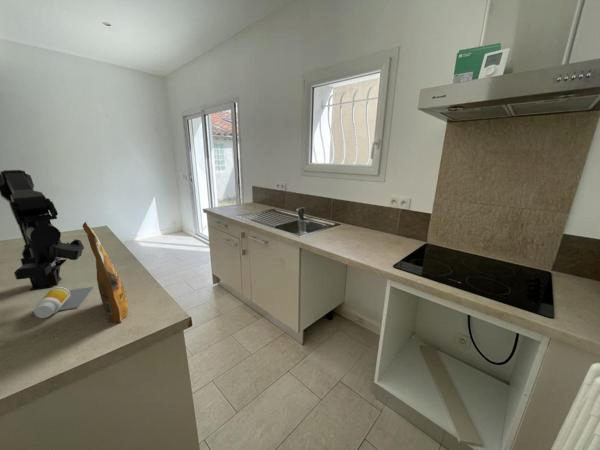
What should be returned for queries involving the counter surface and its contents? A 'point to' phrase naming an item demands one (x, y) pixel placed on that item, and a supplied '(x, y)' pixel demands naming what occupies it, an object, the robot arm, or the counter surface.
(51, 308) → the supplement bottle
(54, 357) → the counter surface
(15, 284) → the counter surface
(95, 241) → the pancake mix bag
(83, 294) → the mat
